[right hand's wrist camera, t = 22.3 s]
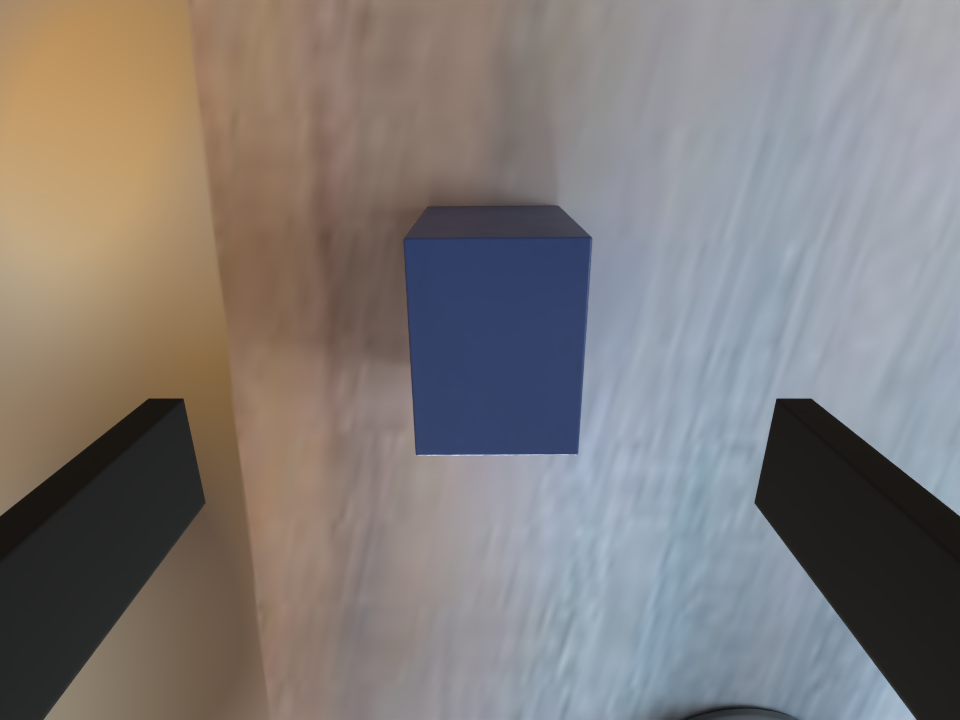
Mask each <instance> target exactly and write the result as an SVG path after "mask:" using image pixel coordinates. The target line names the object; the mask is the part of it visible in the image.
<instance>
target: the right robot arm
mask: <svg viewBox="0 0 960 720" xmlns="http://www.w3.org/2000/svg"><path fill="white" fill-rule="evenodd" d="M204 504H205V498H204V493H203V489H202V484H201V479H200V474H199V470H198V465H197V460H196V456H195V451H194V446H193V441H192V437H191V432H190V427H189V422H188V418H187V413H186V409H185V404H184V399H148V400H146V401H145V402H144V403H143V404H141V405H140V406H139V407H138V408H136V409H135V410H134V411H133V412H131V413H130V414H129V415H127V416H126V417H125V418H124V419H122V420H121V421H120V422H119V423H117V424H116V425H115V426H114V427H112V428H111V429H110V430H109V431H107V432H106V433H105V434H104V435H102V436H101V437H100V438H98V439H97V440H96V441H95V442H93V443H92V444H91V445H90V446H88V447H87V448H86V449H85V450H83V451H82V452H81V453H80V454H78V455H77V456H76V457H74V458H73V459H72V460H71V461H70V462H68V463H67V464H66V465H64V466H63V467H62V468H61V469H59V470H58V471H57V472H56V473H54V474H53V475H52V476H51V477H49V478H48V479H47V480H45V481H44V482H43V483H42V484H40V485H39V486H38V487H37V488H35V489H34V490H33V491H32V492H30V493H29V494H28V495H27V496H25V497H24V498H23V499H22V500H20V501H19V502H18V503H17V504H15V505H14V506H13V507H11V508H10V509H9V510H8V511H6V512H5V513H4V514H3V515H1V516H0V720H44V718H45V717H46V715H47V714H48V713H49V712H50V710H51V709H52V707H53V706H54V705H55V704H56V702H57V701H58V699H59V698H60V697H61V695H62V694H63V693H64V691H65V690H66V689H67V687H68V686H69V685H70V683H71V682H72V681H73V679H74V678H75V677H76V675H77V674H78V673H79V671H80V670H81V669H82V667H83V666H84V665H85V663H86V662H87V661H88V659H89V658H90V657H91V655H92V654H93V653H94V651H95V650H96V649H97V647H98V646H99V645H100V643H101V642H102V641H103V639H104V638H105V637H106V635H107V634H108V633H109V631H110V630H111V629H112V627H113V626H114V625H115V623H116V622H117V621H118V619H119V618H120V617H121V615H122V614H123V613H124V611H125V610H126V609H127V607H128V606H129V605H130V603H131V602H132V600H133V599H134V598H135V597H136V595H137V594H138V592H139V591H140V590H141V589H142V587H143V586H144V585H145V583H146V582H147V581H148V579H149V578H150V577H151V575H152V574H153V572H154V571H155V570H156V569H157V567H158V566H159V564H160V563H161V562H162V560H163V559H164V558H165V556H166V555H167V554H168V552H169V551H170V550H171V548H172V547H173V546H174V544H175V543H176V542H177V540H178V539H179V538H180V536H181V535H182V534H183V532H184V531H185V530H186V528H187V527H188V526H189V524H190V523H191V522H192V520H193V519H194V518H195V516H196V515H197V514H198V512H199V511H200V510H201V508H202V507H203V506H204ZM755 504H756V506H757V507H758V508H759V510H760V511H761V512H762V514H763V515H764V516H765V518H766V519H767V520H768V522H769V523H770V524H771V526H772V527H773V528H774V530H775V531H776V532H777V534H778V535H779V536H780V538H781V539H782V540H783V542H784V543H785V544H786V546H787V547H788V548H789V550H790V551H791V552H792V554H793V555H794V556H795V558H796V559H797V561H798V562H799V563H800V565H801V566H802V567H803V569H804V570H805V571H806V573H807V574H808V575H809V577H810V578H811V579H812V581H813V582H814V583H815V585H816V586H817V587H818V589H819V590H820V591H821V593H822V594H823V595H824V597H825V598H826V599H827V601H828V602H829V603H830V605H831V606H832V607H833V609H834V610H835V611H836V613H837V614H838V615H839V617H840V618H841V619H842V621H843V622H844V623H845V625H846V626H847V627H848V629H849V630H850V631H851V633H852V634H853V635H854V637H855V638H856V639H857V641H858V642H859V643H860V645H861V646H862V647H863V649H864V650H865V651H866V653H867V654H868V655H869V657H870V658H871V659H872V661H873V662H874V663H875V665H876V666H877V667H878V669H879V670H880V671H881V673H882V674H883V675H884V677H885V678H886V679H887V681H888V682H889V683H890V685H891V686H892V687H893V689H894V690H895V691H896V693H897V694H898V695H899V697H900V698H901V699H902V701H903V702H904V704H905V705H906V706H907V708H908V709H909V710H910V712H911V713H912V714H913V716H914V717H915V718H916V720H960V516H959V515H957V514H956V513H955V512H954V511H952V510H951V509H950V508H949V507H947V506H946V505H945V504H944V503H942V502H941V501H940V500H939V499H937V498H936V497H935V496H933V495H932V494H931V493H930V492H928V491H927V490H926V489H925V488H923V487H922V486H921V485H920V484H918V483H917V482H916V481H915V480H913V479H912V478H911V477H909V476H908V475H907V474H906V473H904V472H903V471H902V470H901V469H899V468H898V467H897V466H896V465H894V464H893V463H892V462H891V461H889V460H888V459H887V458H886V457H884V456H883V455H882V454H880V453H879V452H878V451H877V450H875V449H874V448H873V447H872V446H870V445H869V444H868V443H867V442H865V441H864V440H863V439H862V438H860V437H859V436H858V435H856V434H855V433H854V432H853V431H851V430H850V429H849V428H848V427H846V426H845V425H844V424H843V423H841V422H840V421H839V420H838V419H836V418H835V417H834V416H833V415H831V414H830V413H829V412H827V411H826V410H825V409H824V408H822V407H821V406H820V405H819V404H817V403H816V402H815V401H814V400H812V399H776V404H775V408H774V413H773V418H772V422H771V427H770V432H769V437H768V441H767V446H766V451H765V456H764V460H763V465H762V470H761V474H760V479H759V484H758V489H757V493H756V498H755Z"/></svg>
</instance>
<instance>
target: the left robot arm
mask: <svg viewBox="0 0 960 720" xmlns="http://www.w3.org/2000/svg"><path fill="white" fill-rule="evenodd" d="M688 720H798V719H795V718H793V717H791V716H788V715H785V714H782V713H778V712H774V711H768V710H761V709H729V710H721V711H715V712H710V713H706V714H703V715H699V716H696V717H693V718H690V719H688Z"/></svg>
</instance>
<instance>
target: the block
mask: <svg viewBox="0 0 960 720" xmlns="http://www.w3.org/2000/svg"><path fill="white" fill-rule="evenodd" d="M591 250H592V237H591V236H590V235H589V234H588V233H587V232H586V231H584V230H583V229H582V228H581V227H580V226H579V225H578V224H577V223H576V222H575V221H574V220H573V219H572V218H571V217H570V216H569V215H568V214H567V213H566V212H565V211H564V210H562V209H561V208H560V207H559V206H466V207H427V208H426V210H425V211H424V212H423V214H422V215H421V216H420V218H419V219H418V221H417V222H416V223H415V225H414V226H413V227H412V229H411V230H410V231H409V233H408V234H407V236H406V237H405V238H404V256H405V274H406V291H407V309H408V326H409V344H410V362H411V379H412V397H413V414H414V432H415V449H416V455H417V456H452V455H577V454H578V448H579V433H580V418H581V402H582V387H583V372H584V357H585V341H586V326H587V311H588V296H589V281H590V265H591Z"/></svg>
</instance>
